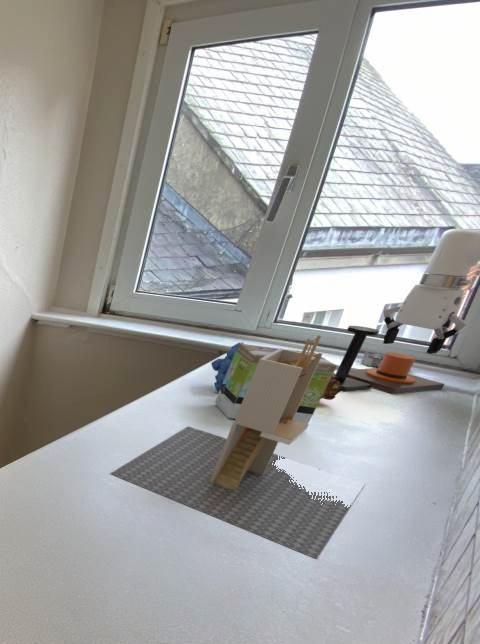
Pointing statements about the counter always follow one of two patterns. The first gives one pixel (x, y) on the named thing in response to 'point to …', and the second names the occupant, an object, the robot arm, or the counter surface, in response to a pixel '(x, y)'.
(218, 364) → the grapes
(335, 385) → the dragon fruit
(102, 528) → the counter surface
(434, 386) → the board
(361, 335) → the hat stand
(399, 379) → the hat
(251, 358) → the tea box
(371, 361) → the egg carton
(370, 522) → the counter surface
